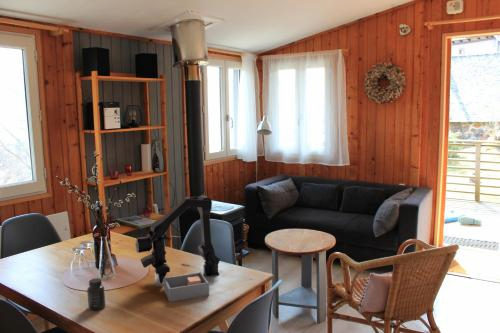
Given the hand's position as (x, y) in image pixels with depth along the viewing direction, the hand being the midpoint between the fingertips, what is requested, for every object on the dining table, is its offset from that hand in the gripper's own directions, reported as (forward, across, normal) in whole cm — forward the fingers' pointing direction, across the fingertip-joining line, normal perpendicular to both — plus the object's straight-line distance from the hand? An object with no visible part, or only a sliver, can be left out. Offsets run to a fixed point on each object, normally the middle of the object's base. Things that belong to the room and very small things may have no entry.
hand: (160, 281), depth 209 cm
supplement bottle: (+2, +14, -29) cm, 32 cm away
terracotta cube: (+1, +14, +13) cm, 19 cm away
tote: (+2, +14, +9) cm, 17 cm away
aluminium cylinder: (+2, 0, 0) cm, 2 cm away
